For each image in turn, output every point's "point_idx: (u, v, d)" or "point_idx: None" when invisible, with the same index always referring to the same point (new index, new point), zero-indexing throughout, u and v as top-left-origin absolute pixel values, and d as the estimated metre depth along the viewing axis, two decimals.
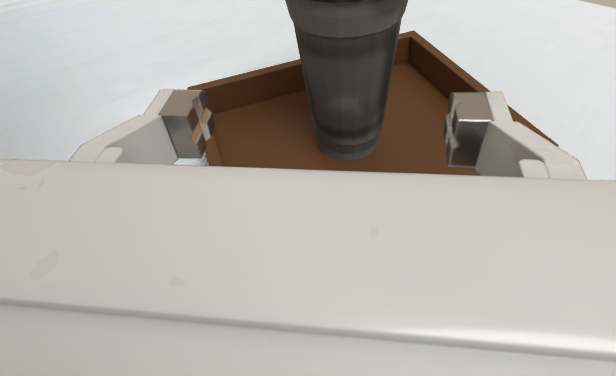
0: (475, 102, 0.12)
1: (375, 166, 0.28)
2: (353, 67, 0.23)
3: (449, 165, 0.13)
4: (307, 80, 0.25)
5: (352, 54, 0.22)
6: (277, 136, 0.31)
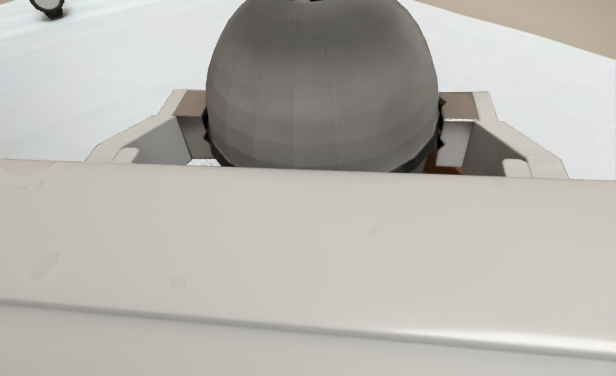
0: (461, 102, 0.12)
1: None
2: None
3: (436, 165, 0.13)
4: None
5: None
6: None
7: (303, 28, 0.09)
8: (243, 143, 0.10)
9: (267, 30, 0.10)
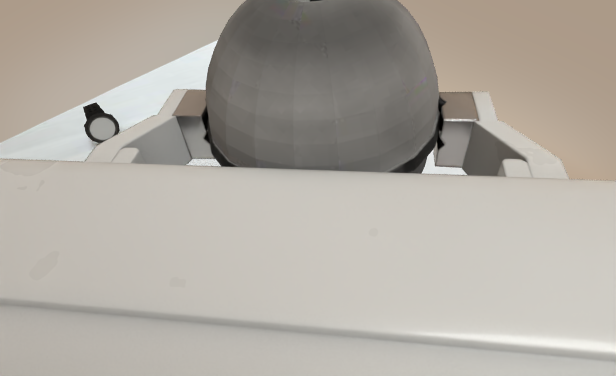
0: (461, 102, 0.12)
1: None
2: None
3: (436, 165, 0.13)
4: None
5: None
6: None
7: (303, 28, 0.09)
8: (243, 143, 0.10)
9: (267, 30, 0.10)
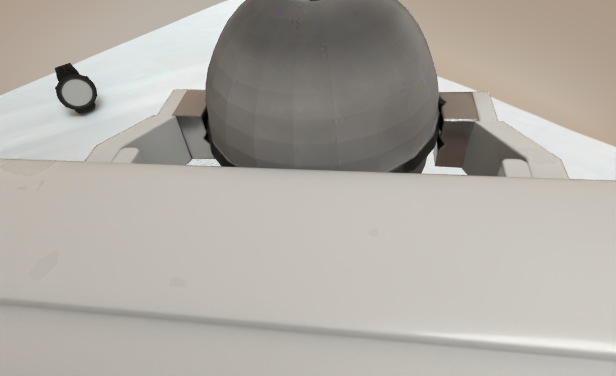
0: (461, 102, 0.12)
1: None
2: None
3: (436, 165, 0.13)
4: None
5: None
6: None
7: (303, 28, 0.09)
8: (242, 143, 0.10)
9: (267, 30, 0.10)
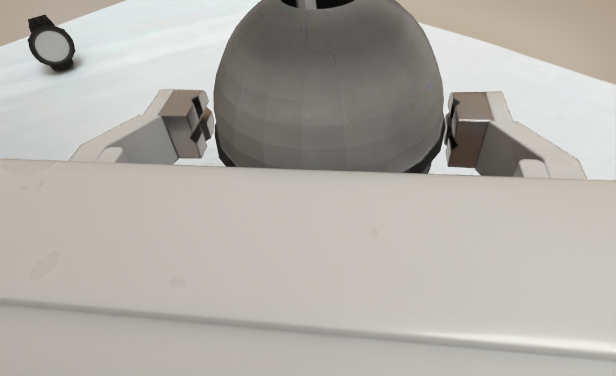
0: (475, 102, 0.12)
1: None
2: None
3: (449, 165, 0.13)
4: None
5: None
6: None
7: (312, 35, 0.10)
8: (252, 148, 0.11)
9: (276, 37, 0.10)
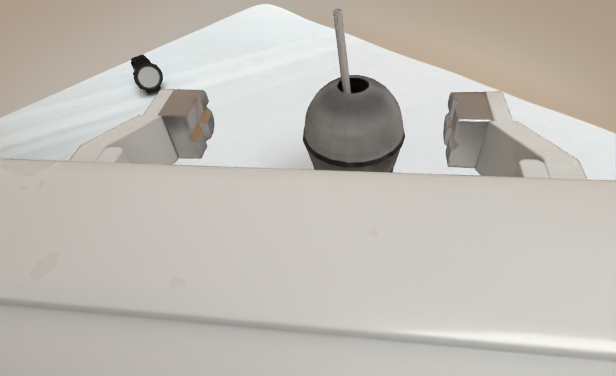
0: (475, 102, 0.12)
1: None
2: None
3: (449, 165, 0.13)
4: None
5: None
6: None
7: (350, 103, 0.26)
8: (325, 145, 0.27)
9: (337, 104, 0.26)
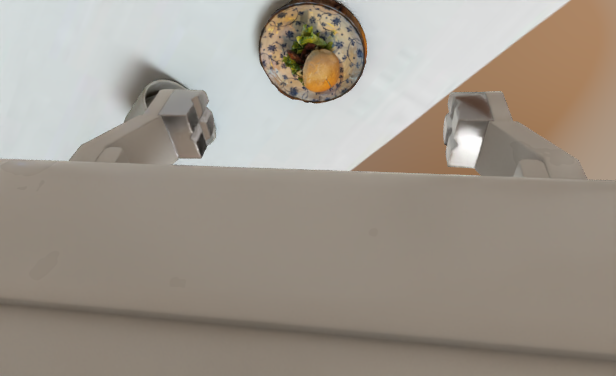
0: (475, 102, 0.12)
1: None
2: None
3: (449, 165, 0.13)
4: None
5: None
6: None
7: None
8: None
9: None
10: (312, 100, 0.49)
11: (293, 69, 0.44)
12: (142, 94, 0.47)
